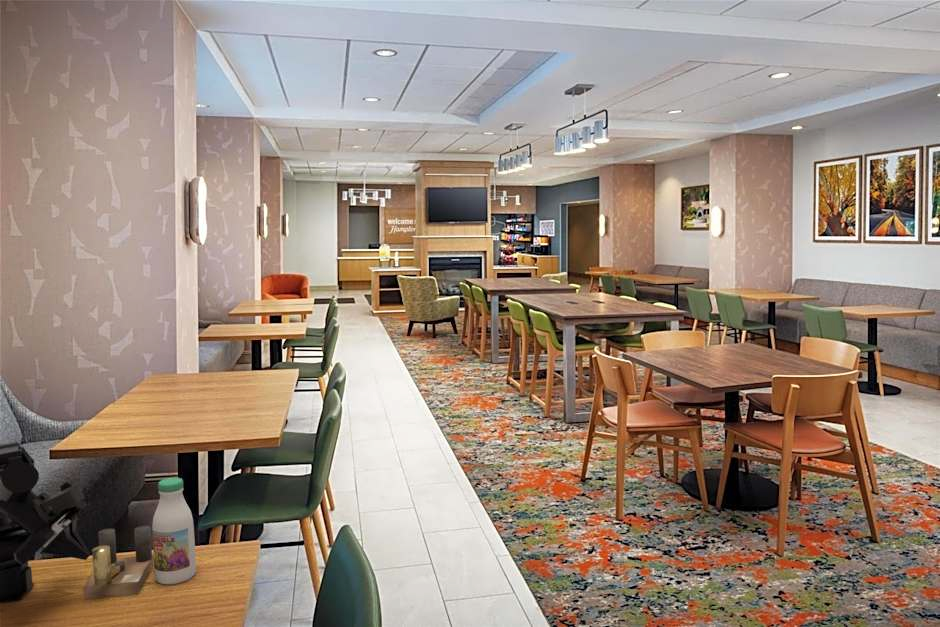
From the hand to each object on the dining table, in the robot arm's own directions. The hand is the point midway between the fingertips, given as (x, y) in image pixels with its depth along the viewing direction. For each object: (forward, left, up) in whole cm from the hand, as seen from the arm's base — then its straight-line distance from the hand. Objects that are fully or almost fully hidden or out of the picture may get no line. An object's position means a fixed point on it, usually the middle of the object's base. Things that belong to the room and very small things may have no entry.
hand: (88, 557), depth 134 cm
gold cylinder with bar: (+3, +1, -5) cm, 6 cm away
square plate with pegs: (+4, +5, -8) cm, 10 cm away
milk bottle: (+14, +6, -8) cm, 17 cm away
